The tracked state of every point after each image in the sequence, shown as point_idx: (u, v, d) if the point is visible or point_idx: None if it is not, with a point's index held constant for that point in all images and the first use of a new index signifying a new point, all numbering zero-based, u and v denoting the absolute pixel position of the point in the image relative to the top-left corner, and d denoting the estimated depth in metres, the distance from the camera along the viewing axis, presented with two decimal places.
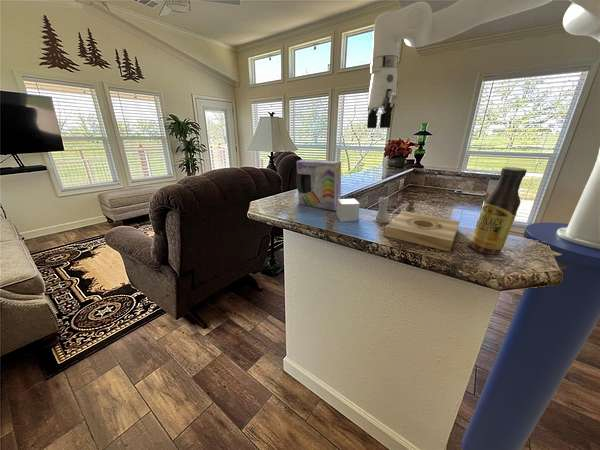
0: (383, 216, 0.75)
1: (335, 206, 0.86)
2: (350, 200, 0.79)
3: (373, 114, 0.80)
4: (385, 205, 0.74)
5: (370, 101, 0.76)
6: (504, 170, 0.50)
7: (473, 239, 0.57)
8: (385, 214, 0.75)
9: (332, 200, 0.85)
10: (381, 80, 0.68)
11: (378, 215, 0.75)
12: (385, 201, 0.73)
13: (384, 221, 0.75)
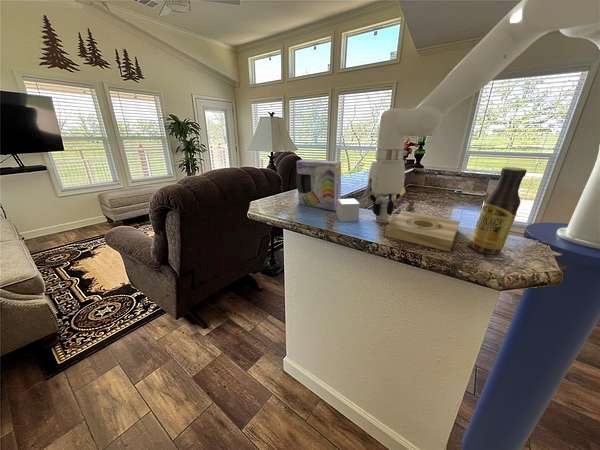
0: (383, 216, 0.75)
1: (335, 206, 0.86)
2: (350, 200, 0.79)
3: None
4: (385, 205, 0.74)
5: (380, 187, 0.70)
6: (504, 170, 0.50)
7: (473, 239, 0.57)
8: (385, 214, 0.75)
9: (332, 200, 0.85)
10: (403, 171, 0.69)
11: None
12: (385, 201, 0.73)
13: (384, 221, 0.75)
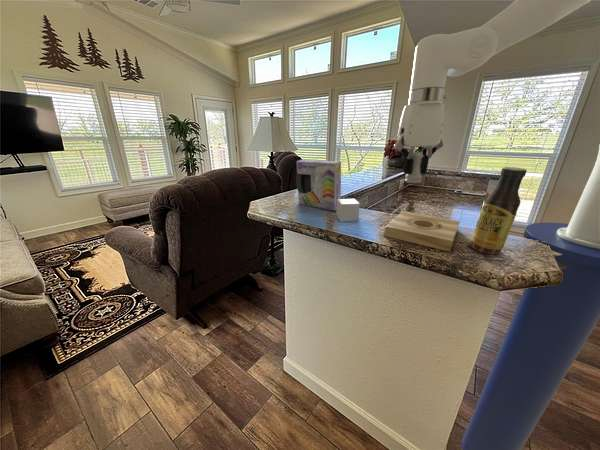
0: (416, 174, 0.64)
1: (335, 206, 0.86)
2: (350, 200, 0.79)
3: None
4: (419, 161, 0.63)
5: (415, 138, 0.59)
6: (504, 170, 0.50)
7: (473, 239, 0.57)
8: (418, 172, 0.64)
9: (332, 199, 0.85)
10: (442, 116, 0.58)
11: (410, 174, 0.64)
12: (419, 156, 0.62)
13: (417, 180, 0.64)
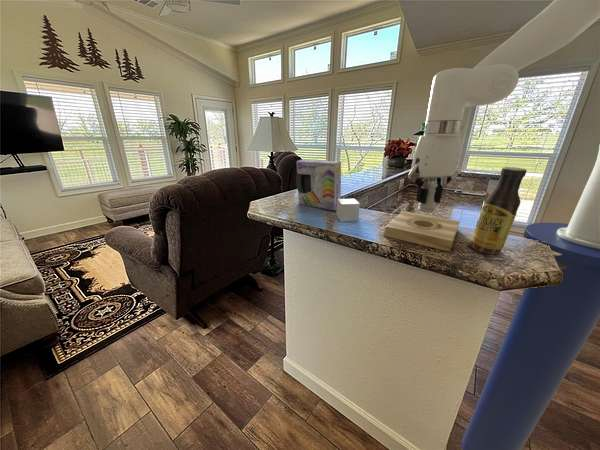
0: (430, 204, 0.63)
1: (335, 206, 0.86)
2: (350, 200, 0.79)
3: None
4: (433, 190, 0.62)
5: (430, 169, 0.58)
6: (504, 170, 0.50)
7: (473, 239, 0.57)
8: (432, 201, 0.63)
9: (332, 200, 0.85)
10: (458, 148, 0.57)
11: None
12: (434, 186, 0.61)
13: (431, 210, 0.63)
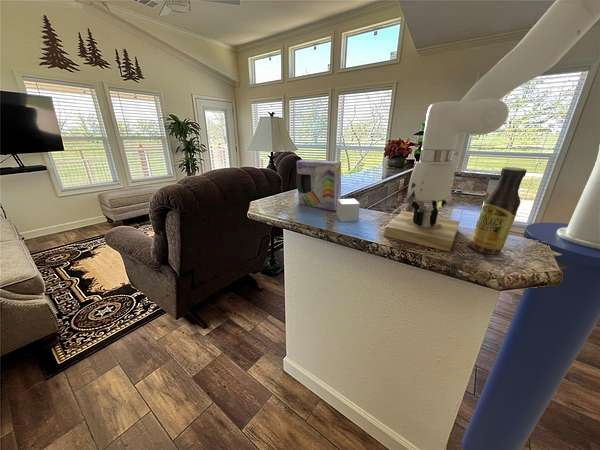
0: (426, 226, 0.65)
1: (335, 206, 0.86)
2: (350, 200, 0.79)
3: None
4: (429, 213, 0.64)
5: (426, 194, 0.61)
6: (504, 170, 0.50)
7: (473, 239, 0.57)
8: (428, 224, 0.65)
9: (332, 200, 0.85)
10: (453, 174, 0.60)
11: None
12: (429, 209, 0.63)
13: None
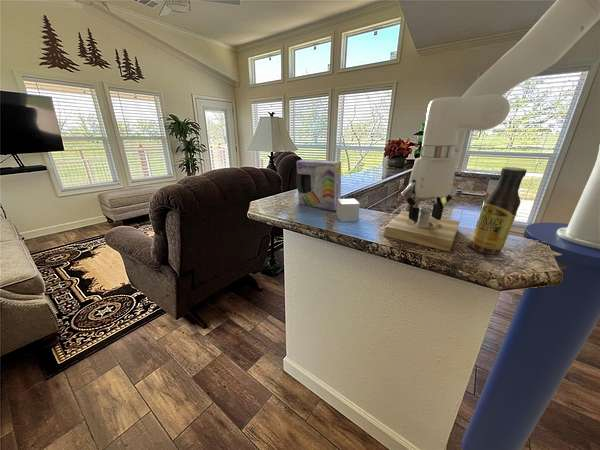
0: None
1: (335, 206, 0.86)
2: (350, 200, 0.79)
3: None
4: (428, 215, 0.64)
5: (426, 190, 0.60)
6: (504, 170, 0.50)
7: (473, 239, 0.57)
8: (427, 225, 0.65)
9: (332, 200, 0.85)
10: (453, 170, 0.59)
11: None
12: (428, 211, 0.64)
13: None
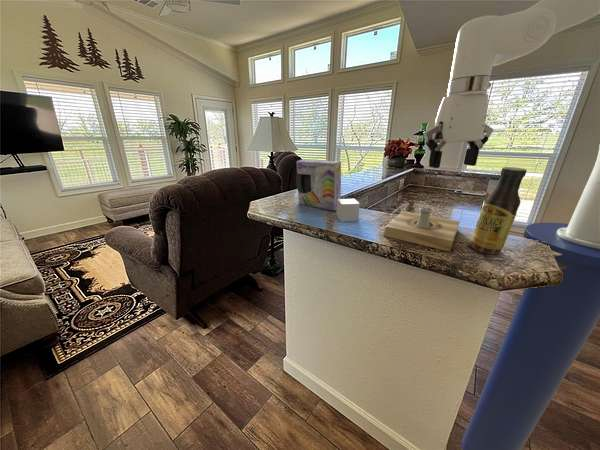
0: None
1: (335, 206, 0.86)
2: (350, 200, 0.79)
3: None
4: (428, 215, 0.64)
5: (455, 132, 0.54)
6: (504, 170, 0.50)
7: (473, 239, 0.57)
8: (427, 225, 0.65)
9: (332, 199, 0.85)
10: (486, 108, 0.53)
11: None
12: (428, 211, 0.64)
13: None
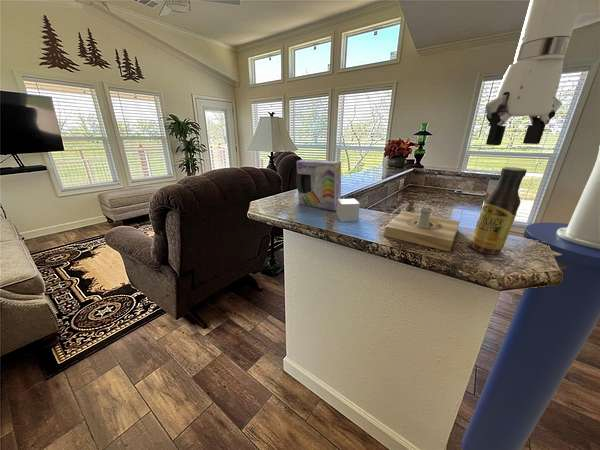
0: None
1: (335, 206, 0.86)
2: (350, 200, 0.79)
3: None
4: (428, 215, 0.64)
5: (523, 104, 0.48)
6: (504, 170, 0.50)
7: (473, 239, 0.57)
8: (427, 225, 0.65)
9: (332, 200, 0.85)
10: (559, 77, 0.47)
11: None
12: (428, 211, 0.64)
13: None
